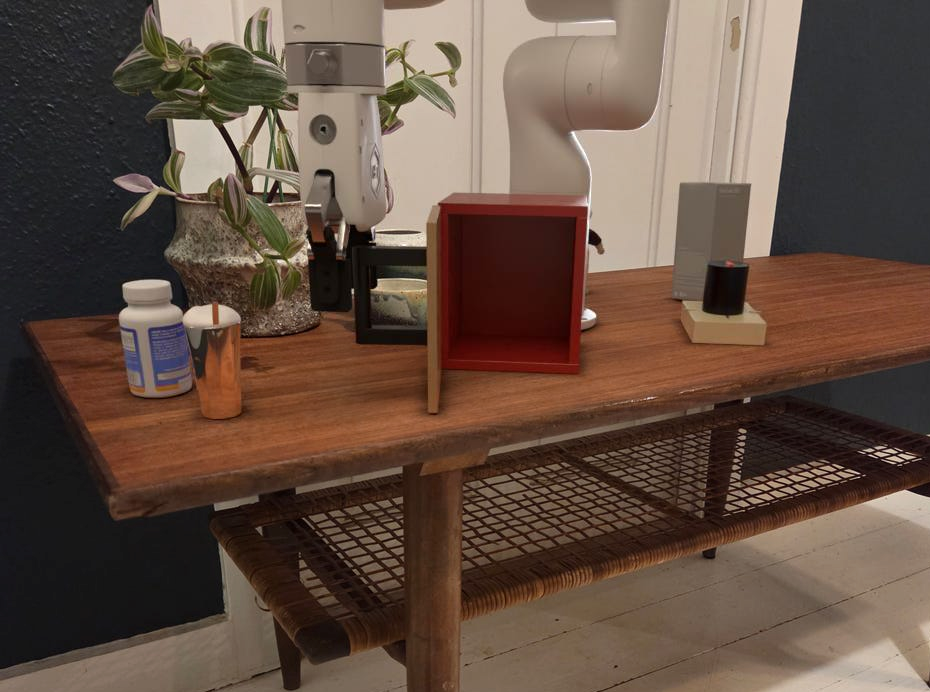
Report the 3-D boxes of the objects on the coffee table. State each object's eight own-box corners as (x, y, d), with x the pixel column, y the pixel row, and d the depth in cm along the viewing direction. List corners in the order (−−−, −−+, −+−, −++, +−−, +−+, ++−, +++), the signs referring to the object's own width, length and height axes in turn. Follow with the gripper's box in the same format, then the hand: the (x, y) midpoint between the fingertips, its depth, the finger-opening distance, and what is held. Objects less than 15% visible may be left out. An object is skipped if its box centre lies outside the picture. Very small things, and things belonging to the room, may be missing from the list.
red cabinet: (578, 374, 87) (588, 206, 81) (438, 368, 89) (437, 202, 82) (577, 345, 98) (586, 195, 92) (453, 340, 100) (453, 192, 93)
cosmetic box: (707, 306, 119) (721, 183, 113) (665, 298, 124) (676, 180, 118) (742, 299, 125) (757, 181, 119) (700, 291, 130) (713, 178, 123)
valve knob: (699, 306, 107) (704, 257, 104) (739, 307, 106) (745, 258, 104) (704, 314, 102) (710, 263, 100) (746, 315, 102) (753, 264, 100)
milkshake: (198, 427, 71) (184, 304, 67) (190, 408, 76) (176, 291, 72) (255, 421, 73) (244, 300, 69) (244, 403, 77) (233, 288, 74)
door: (355, 412, 75) (346, 221, 69) (371, 368, 88) (365, 204, 82) (437, 413, 75) (436, 222, 69) (441, 369, 88) (440, 205, 82)
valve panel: (676, 320, 111) (678, 299, 110) (748, 322, 110) (751, 301, 109) (687, 342, 100) (690, 319, 99) (768, 345, 99) (771, 322, 98)
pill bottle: (199, 382, 83) (187, 278, 79) (183, 399, 78) (169, 289, 74) (140, 382, 83) (126, 277, 79) (121, 399, 78) (104, 288, 74)
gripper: (359, 69, 59) (368, 323, 65) (404, 78, 75) (408, 282, 81) (250, 68, 59) (270, 319, 66) (318, 77, 75) (328, 280, 82)
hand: (346, 299), depth 74 cm, fingers open, 9 cm apart
